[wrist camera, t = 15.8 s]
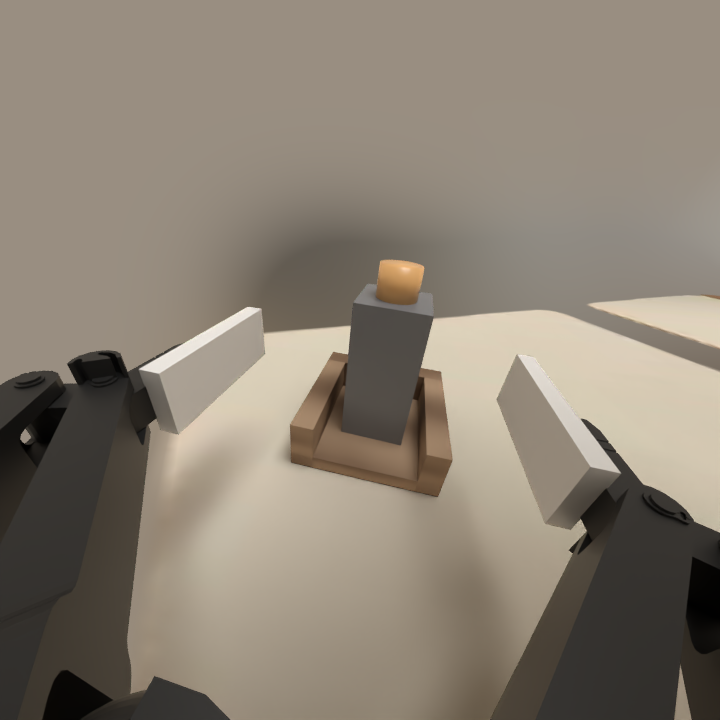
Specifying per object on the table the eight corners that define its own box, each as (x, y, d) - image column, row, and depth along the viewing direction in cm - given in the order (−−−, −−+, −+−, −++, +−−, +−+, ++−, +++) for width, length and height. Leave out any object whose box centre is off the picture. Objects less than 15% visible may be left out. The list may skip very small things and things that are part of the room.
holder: (437, 496, 18) (452, 460, 16) (291, 462, 19) (290, 424, 17) (431, 402, 26) (440, 371, 24) (331, 382, 27) (333, 352, 26)
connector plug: (401, 445, 20) (443, 279, 14) (341, 431, 20) (356, 265, 14) (405, 406, 24) (439, 263, 18) (354, 396, 24) (371, 253, 18)
